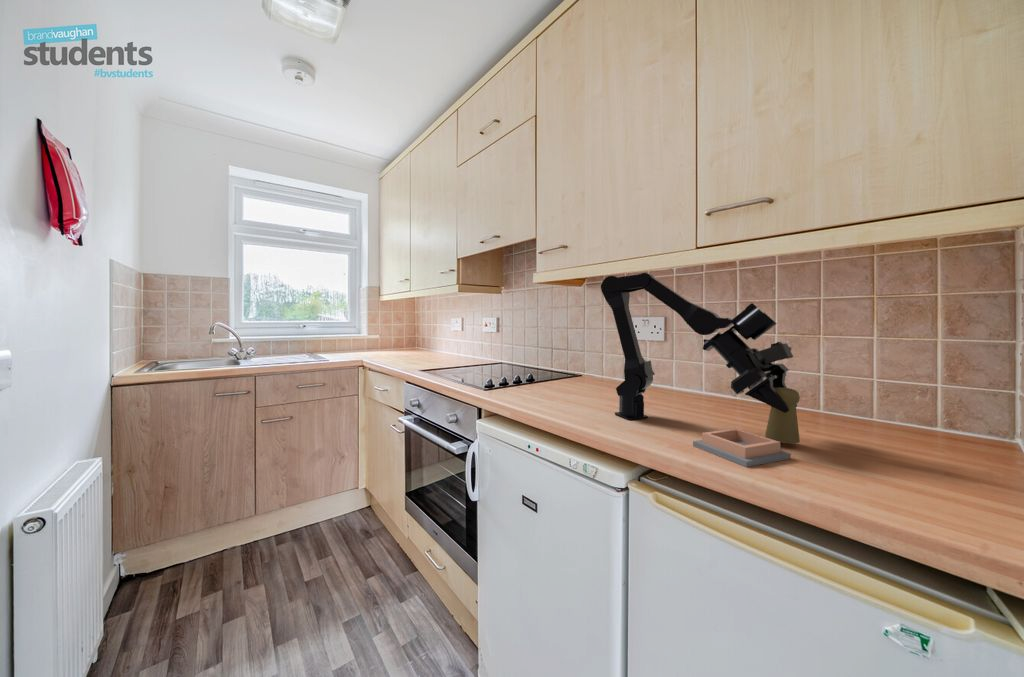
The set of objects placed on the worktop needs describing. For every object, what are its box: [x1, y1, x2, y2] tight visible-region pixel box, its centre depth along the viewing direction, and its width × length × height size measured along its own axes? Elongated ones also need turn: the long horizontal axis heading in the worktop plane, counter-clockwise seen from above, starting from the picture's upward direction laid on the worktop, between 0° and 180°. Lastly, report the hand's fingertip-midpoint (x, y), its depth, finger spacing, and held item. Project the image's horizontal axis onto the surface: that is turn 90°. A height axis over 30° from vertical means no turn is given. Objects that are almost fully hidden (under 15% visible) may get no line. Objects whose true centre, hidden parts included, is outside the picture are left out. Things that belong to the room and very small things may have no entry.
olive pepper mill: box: [764, 387, 801, 444], centre depth 79 cm, size 6×6×11 cm
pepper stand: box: [692, 427, 792, 468], centre depth 74 cm, size 12×12×3 cm
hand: (791, 409), depth 78 cm, fingers closed on olive pepper mill, 5 cm apart
